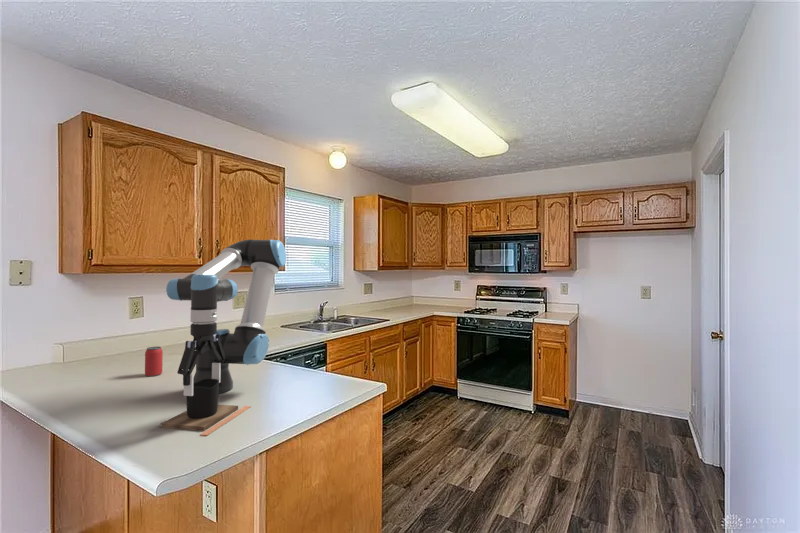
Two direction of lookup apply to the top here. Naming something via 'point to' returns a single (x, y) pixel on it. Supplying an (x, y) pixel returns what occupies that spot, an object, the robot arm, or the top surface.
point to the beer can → (153, 361)
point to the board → (202, 423)
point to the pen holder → (203, 399)
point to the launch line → (224, 421)
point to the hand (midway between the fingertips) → (202, 388)
